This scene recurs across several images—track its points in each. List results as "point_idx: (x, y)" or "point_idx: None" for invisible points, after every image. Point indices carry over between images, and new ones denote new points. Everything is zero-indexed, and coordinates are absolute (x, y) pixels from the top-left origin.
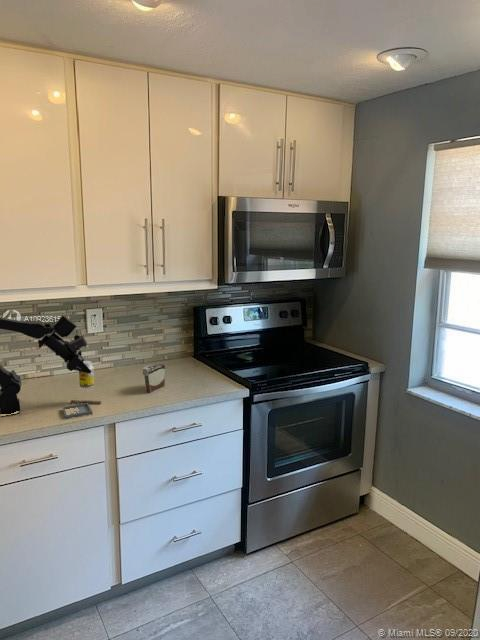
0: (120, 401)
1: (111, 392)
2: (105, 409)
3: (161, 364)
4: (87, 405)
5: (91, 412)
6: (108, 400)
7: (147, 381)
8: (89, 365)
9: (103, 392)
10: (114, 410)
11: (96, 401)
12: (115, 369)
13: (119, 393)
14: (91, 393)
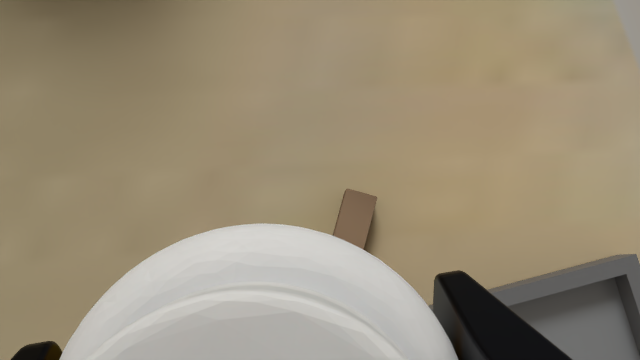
0: (338, 14)
1: (54, 103)
2: (516, 143)
3: None
4: None
5: (632, 262)
6: (284, 125)
7: None
8: (386, 336)
9: (28, 186)
10: (553, 63)
11: (357, 234)
12: None
13: (109, 24)
14: (21, 314)
